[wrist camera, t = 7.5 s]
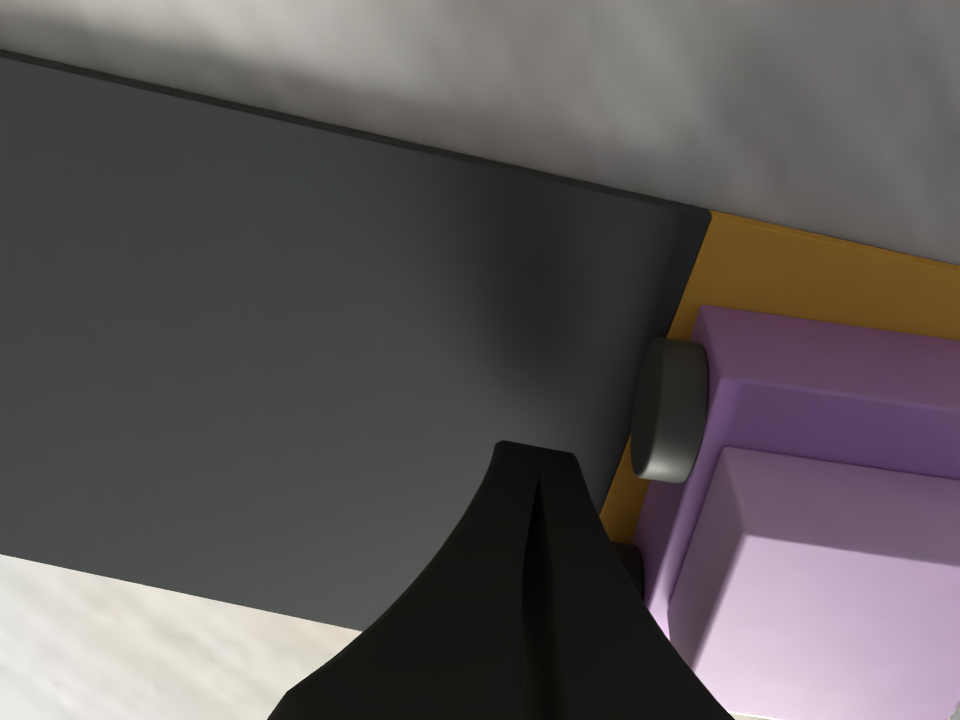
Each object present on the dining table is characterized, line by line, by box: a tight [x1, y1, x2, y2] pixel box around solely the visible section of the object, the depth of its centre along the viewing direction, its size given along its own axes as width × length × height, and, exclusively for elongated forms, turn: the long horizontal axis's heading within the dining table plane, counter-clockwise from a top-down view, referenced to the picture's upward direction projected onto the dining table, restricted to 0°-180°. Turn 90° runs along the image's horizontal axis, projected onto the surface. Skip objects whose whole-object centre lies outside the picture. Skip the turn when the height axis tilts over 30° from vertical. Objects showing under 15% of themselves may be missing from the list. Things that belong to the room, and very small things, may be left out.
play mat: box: [0, 49, 960, 632], centre depth 15 cm, size 11×20×1 cm, turn 79°
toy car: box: [611, 305, 960, 720], centre depth 13 cm, size 7×6×4 cm
